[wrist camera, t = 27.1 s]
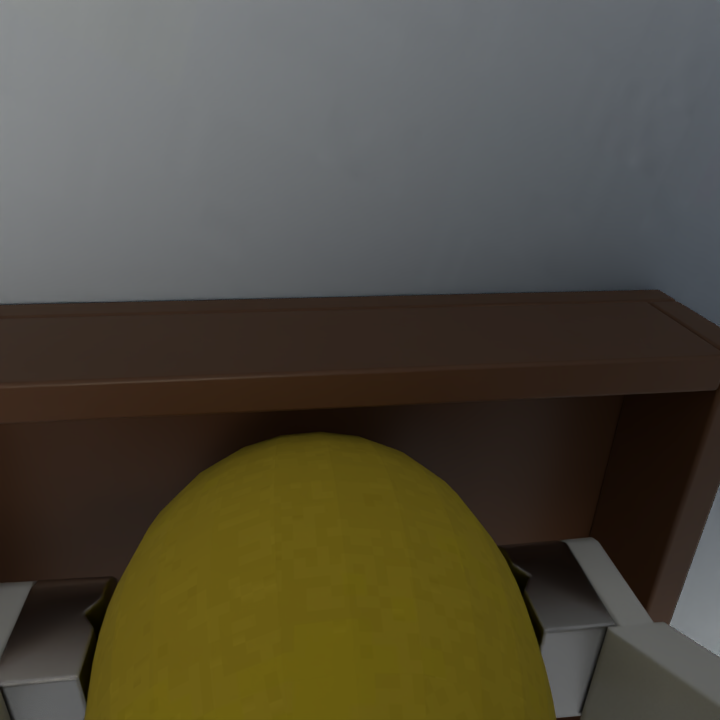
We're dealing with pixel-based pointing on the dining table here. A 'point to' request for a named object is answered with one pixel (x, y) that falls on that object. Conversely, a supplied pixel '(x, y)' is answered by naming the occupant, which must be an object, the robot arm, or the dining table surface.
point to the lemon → (317, 598)
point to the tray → (367, 415)
